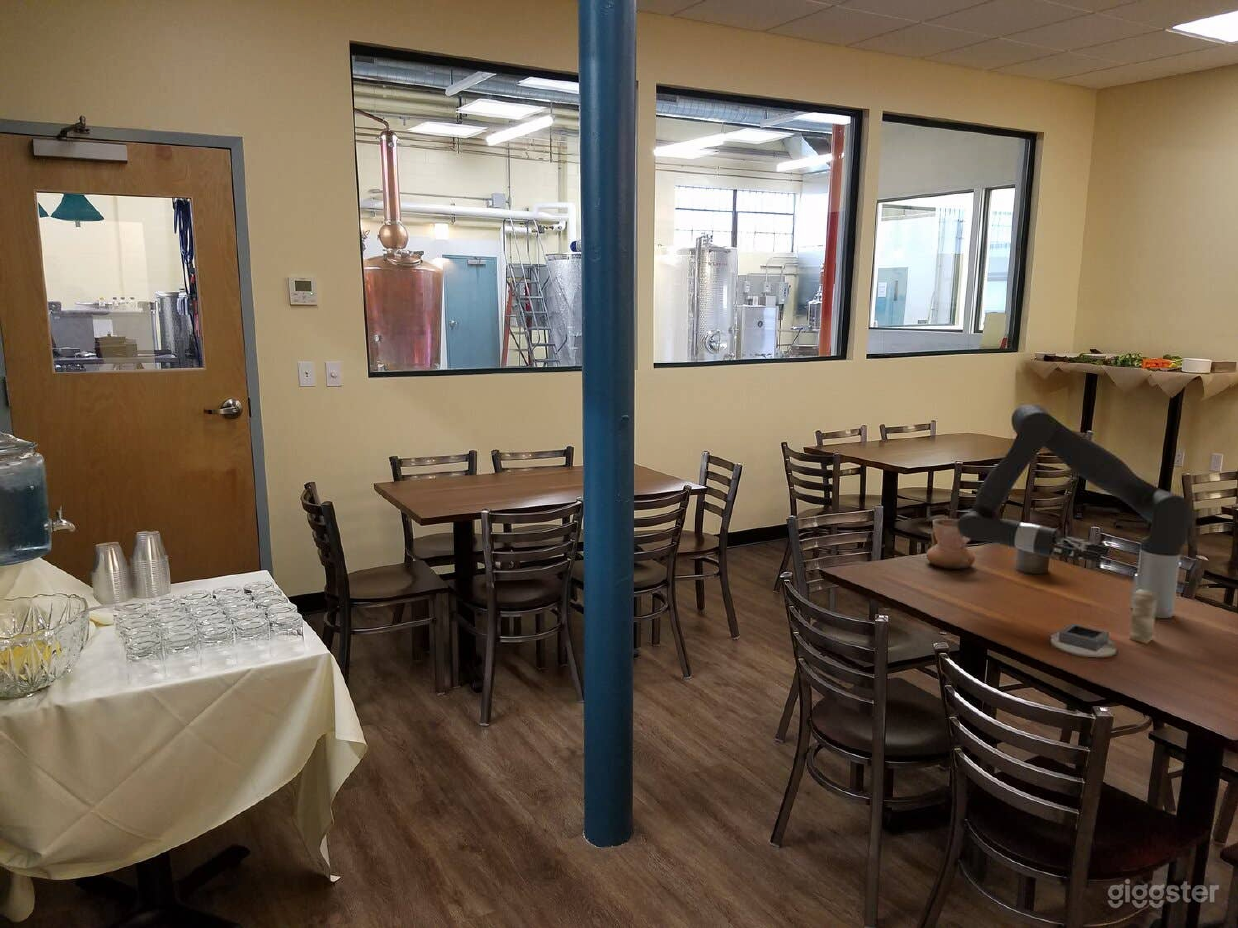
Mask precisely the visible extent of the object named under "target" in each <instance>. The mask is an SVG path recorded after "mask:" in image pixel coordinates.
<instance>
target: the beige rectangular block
mask: <svg viewBox="0 0 1238 928" xmlns="http://www.w3.org/2000/svg"><path fill="white" fill-rule="evenodd" d="M1157 596H1158V593H1156V592H1151V591H1146V590H1141V589H1139V590H1138V591H1136V592H1135V595H1134V603H1133V608H1132V613H1131V622H1130V630H1129V640H1132V641H1137V642H1140V643H1141V642H1142V643H1144V644H1148V643H1149V642H1151V641H1152V640H1153V637H1154V628H1155V613H1156V604H1157Z"/></svg>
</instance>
